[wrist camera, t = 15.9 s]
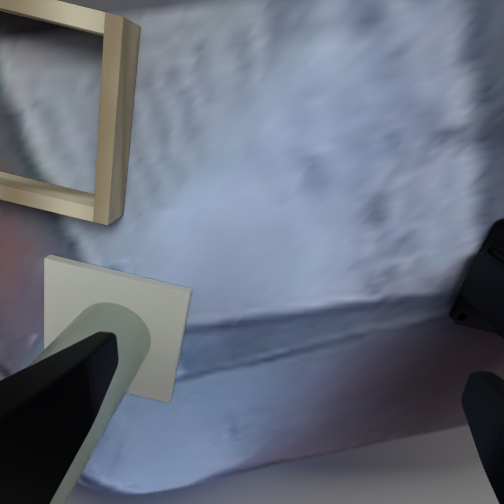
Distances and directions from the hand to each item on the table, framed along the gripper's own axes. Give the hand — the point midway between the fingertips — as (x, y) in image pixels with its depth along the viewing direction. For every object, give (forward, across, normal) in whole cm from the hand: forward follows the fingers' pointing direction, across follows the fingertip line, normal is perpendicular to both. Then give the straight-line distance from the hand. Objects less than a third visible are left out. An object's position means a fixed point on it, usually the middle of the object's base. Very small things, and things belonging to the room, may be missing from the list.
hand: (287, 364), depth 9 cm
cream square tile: (+12, +10, +8) cm, 18 cm away
